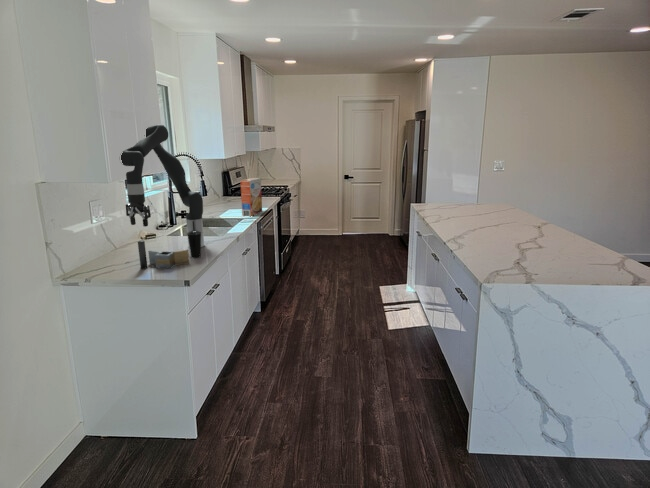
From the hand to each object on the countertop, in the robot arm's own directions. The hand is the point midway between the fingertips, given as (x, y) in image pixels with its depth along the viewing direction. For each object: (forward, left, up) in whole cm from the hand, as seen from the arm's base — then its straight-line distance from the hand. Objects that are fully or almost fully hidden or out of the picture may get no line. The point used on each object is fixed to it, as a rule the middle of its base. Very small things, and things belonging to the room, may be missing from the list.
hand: (139, 225), depth 211 cm
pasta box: (-155, +13, -22) cm, 157 cm away
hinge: (-6, +9, -22) cm, 25 cm away
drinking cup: (-23, +18, -22) cm, 37 cm away
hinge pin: (0, 0, -22) cm, 22 cm away
